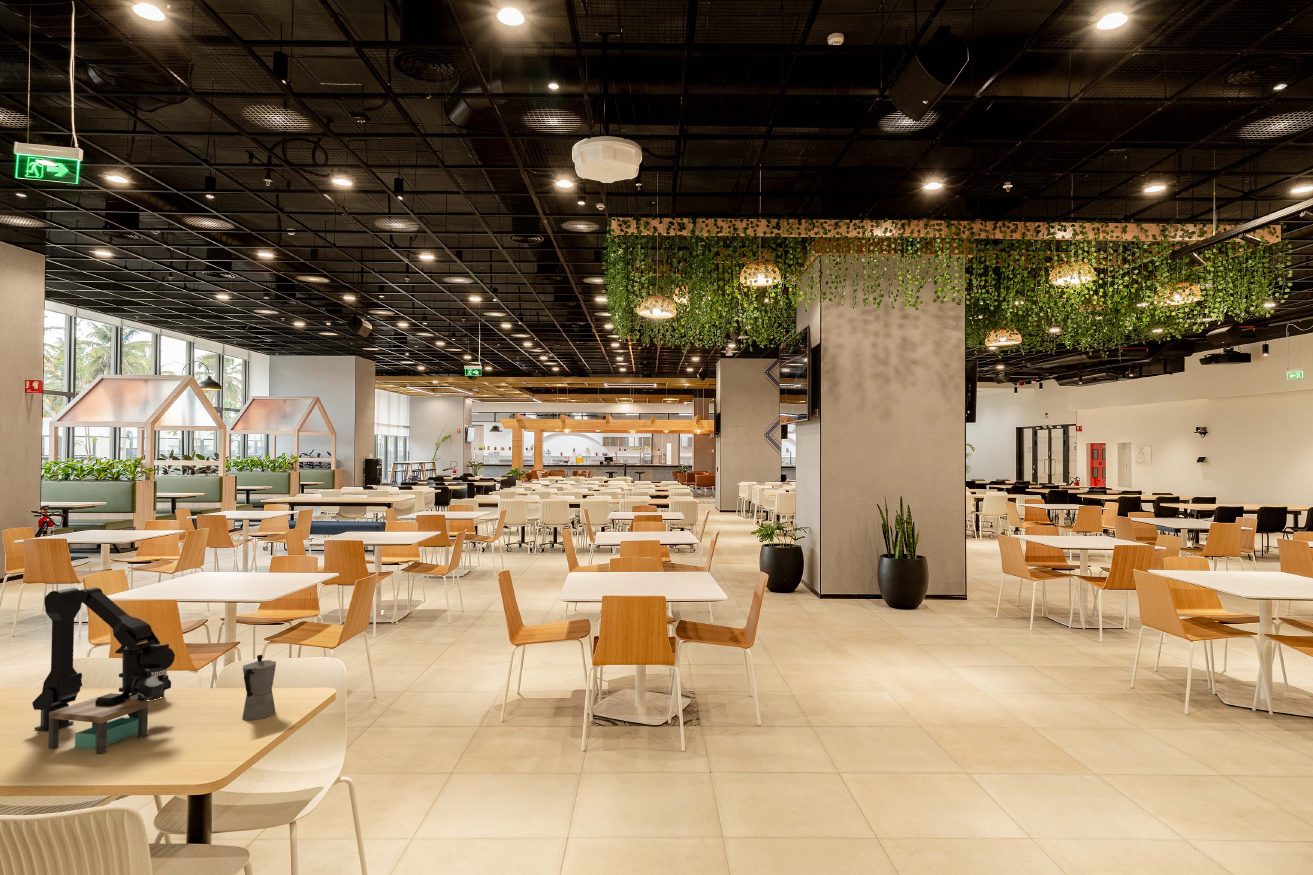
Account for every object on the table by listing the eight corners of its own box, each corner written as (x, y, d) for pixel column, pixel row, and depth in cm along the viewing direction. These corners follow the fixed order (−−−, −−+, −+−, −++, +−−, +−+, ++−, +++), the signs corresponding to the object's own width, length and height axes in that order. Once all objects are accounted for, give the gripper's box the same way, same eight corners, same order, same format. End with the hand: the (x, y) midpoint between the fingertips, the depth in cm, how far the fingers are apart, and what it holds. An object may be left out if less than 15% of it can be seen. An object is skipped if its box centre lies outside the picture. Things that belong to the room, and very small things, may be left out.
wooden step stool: (48, 748, 189) (49, 712, 190) (97, 730, 202) (98, 696, 202) (100, 754, 185) (101, 716, 185) (147, 735, 198) (148, 700, 198)
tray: (74, 748, 190) (75, 733, 190) (121, 730, 203) (122, 716, 203) (95, 750, 189) (95, 735, 189) (141, 732, 201) (141, 718, 201)
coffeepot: (253, 708, 220) (253, 649, 221) (284, 706, 221) (285, 648, 222) (227, 726, 205) (228, 663, 205) (262, 724, 205) (262, 661, 206)
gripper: (125, 679, 193) (126, 737, 192) (186, 660, 211) (186, 712, 211) (93, 677, 195) (93, 734, 195) (155, 658, 214) (156, 710, 213)
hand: (134, 722), depth 203 cm, fingers closed
